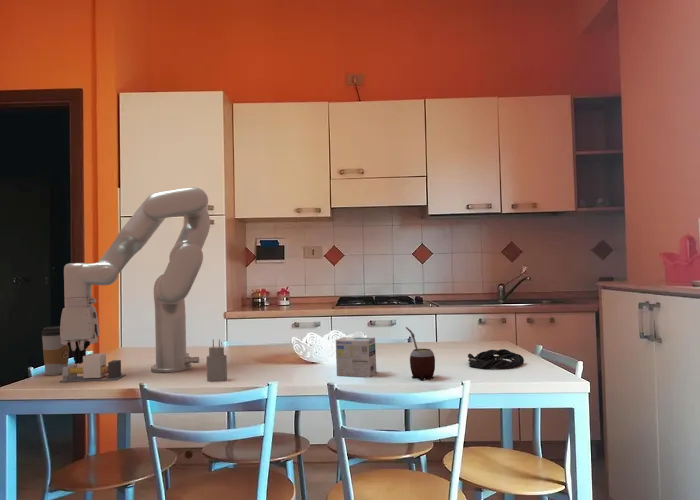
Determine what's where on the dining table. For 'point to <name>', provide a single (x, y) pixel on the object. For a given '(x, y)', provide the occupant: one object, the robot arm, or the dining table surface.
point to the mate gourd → (421, 362)
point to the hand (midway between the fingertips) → (79, 362)
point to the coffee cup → (54, 351)
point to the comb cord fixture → (111, 369)
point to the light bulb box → (356, 356)
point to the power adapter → (216, 364)
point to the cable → (495, 359)
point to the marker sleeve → (94, 365)
